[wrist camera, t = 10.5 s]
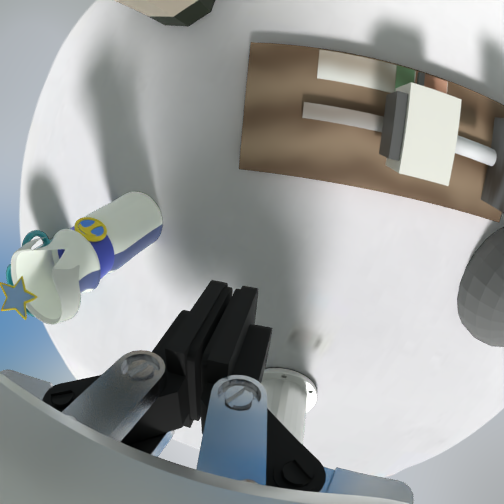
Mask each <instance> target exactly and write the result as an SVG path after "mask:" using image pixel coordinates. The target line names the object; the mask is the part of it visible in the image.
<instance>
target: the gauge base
mask: <svg viewBox="0 0 504 504" xmlns="http://www.w3.org/2000/svg"><path fill="white" fill-rule="evenodd" d="M418 72H422V71H418V70H415V69H412V68H409V67H405V66H402V65H398V64H394V63H391V62H387V61H383V60H379V59H375V58H370V57H366V56H361V55H356V54H351V53H346V52H340V51H334V50H328V49H321V48H314V47H306V46H297V45H286V44H273V43H253V42H251V45H250V55H249V64H248V74H247V84H246V95H245V105H244V116H243V127H242V138H241V149H240V161H239V169H243V170H252V171H260V172H268V173H275V174H282V175H289V176H296V177H303V178H309V179H315V180H321V181H327V182H333V183H339V184H344V185H349V186H355V187H360V188H365V189H370V190H375V191H380V192H384V193H389V194H394V195H398V196H403V197H407V198H411V199H416V200H420V201H424V202H428V203H432V204H436V205H440V206H444V207H447V208H451V209H455V210H459V211H462V212H466V213H469V214H473V215H476V216H480V217H483V218H486V219H490V220H493V221H496V222H499V221H500V218H501V214H502V213H504V105H502V104H500V103H498V102H496V101H494V100H492V99H490V98H488V97H486V96H484V95H481V94H479V93H477V92H475V91H472V90H470V89H468V88H465V87H463V86H460V85H458V84H455V83H453V82H450V81H448V80H445V79H442V78H439V77H436V76H434V75H431V74H428V73H425V72H422V73H425V81H424V86H425V87H428V88H431V89H434V90H437V91H440V92H443V93H445V94H448V95H451V96H453V97H456V98H459V99H461V111H460V120H459V128H458V136H461V137H464V138H467V139H469V140H472V141H475V142H477V143H480V144H482V145H485V146H487V147H490V148H492V149H494V150H495V151H496V154H497V158H496V162H495V164H494V165H493V166H489V165H487V164H484V163H481V162H479V161H476V160H473V159H471V158H468V157H465V156H462V155H459V154H456V153H455V155H454V161H453V166H452V171H451V176H450V181H449V186H446V185H442V184H439V183H435V182H431V181H428V180H424V179H420V178H416V177H412V176H408V175H404V174H400V173H398V172H396V171H394V170H393V169H391V168H389V167H388V166H386V165H385V164H386V159H387V157H384V156H382V155H380V154H379V148H380V142H381V135H382V128H383V120H384V112H385V103H386V95H387V94H390V93H393V92H395V90H396V88H398V87H400V86H403V85H405V84H408V83H411V82H412V83H415V84H417V75H418Z"/></svg>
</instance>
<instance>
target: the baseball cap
mask: <svg viewBox="0 0 504 504" xmlns="http://www.w3.org/2000/svg"><path fill="white" fill-rule="evenodd" d="M457 305H458V314H459V317H460V319H461V322H462V324H463V325H464V326H465V327H466V328H467V330H468V331H469V332H470V333H471V334H472V335H473V336H474V338H476V339H478V340H480V341H482V342H484V343H486V344H488V345H490V346H497V347H504V227H503V228H501V229H499V230H497V231H496V232H495V233H494V234H492V235H491V236H490V237H488V238H487V239H486V240H485V241H484V243H483V244H482V245H481V246H480V247H479V248H478V250H477V251H476V252H475V254H474V255H473V257H472V259H471V260H470V262H469V264H468V265H467V267H466V269H465V272H464V275H463V277H462V280H461V282H460V286H459V292H458V297H457Z"/></svg>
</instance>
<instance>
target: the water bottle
mask: <svg viewBox="0 0 504 504" xmlns="http://www.w3.org/2000/svg"><path fill="white" fill-rule="evenodd" d="M162 225H163V222H162V215H161V212H160V210H159V208H158V206H157V204H156V203H155V202H154V200H153V199H152V198H150V197H149V196H148V195H146V194H144V193H141V192H137V191H133V192H128V193H126V194H124V195H123V196H121V197H119V198H118V199H116V200H114V201H112V202H111V203H109V204H107V205H105V206H103V207H101V208H99V209H98V210H96V211H94V212H92V213H90V214H89V215H87V216H86V217H84V218H80V219H79V220H77V221H76V223H75V226H74V227H72V228H70V229H62V230H60V231H58V232H57V233H56V234H55V235H54V237H53V240H52V242H51V243H50V244H49V245H47V246H45V247H42V248H38V249H34V250H31V247H32V246H33V245H34V244H35V243H36V242H37V241H38V240H39V239H42V238H39V239H35V240H32V241H30V242H28V243H26V244H25V245H23V246H22V247H21V248H19V249H18V250H17V251H16V252H15V253H14V254H13V256H12V259H11V276H12V281H13V284H14V286H11V285H8V284H5V283H1V282H0V286H1V288H2V290H3V292H4V294H5V296H6V299H5V302H4V304H3V306H2V309H1V311H7V310H16V311H17V312H18V313H19V314H20V316H22V318H24V319H25V320H26V318H27V315H26V308H27V309H28V310H29V311H30V312H31V313H32V314H33V315H34V316H35V317H36V318H37V319H39V320H40V321H42V322H44V323H46V324H51V325H53V324H57V323H60V322H64V321H67V320H70V319H71V318H73V317H74V316H75V315H76V314H77V312H78V310H79V307H80V302H81V294H80V293H82V292H91V291H93V290H94V289H95V288H96V287H97V286H98V284H99V281H100V279H101V278H102V277H103V276H104V275H106V274H108V273H111V272H114V271H116V270H117V269H119V268H120V267H121V266H123V265H124V264H125V263H126V262H128V261H129V260H130V259H131V258H133V257H134V256H135V255H136V254H138V253H139V252H140V251H142V250H143V249H145V248H146V247H148V246H149V245H151V244H152V243H154V242H155V241H156V240H157V239H158V237H159V236H160V234H161V231H162ZM44 238H46V237H44Z"/></svg>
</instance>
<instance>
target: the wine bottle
mask: <svg viewBox="0 0 504 504" xmlns="http://www.w3.org/2000/svg"><path fill="white" fill-rule="evenodd" d="M114 1H117V2H119V3H121V4H123V5H125V6H128V7H130V8H132V9H134V10H136V11H138V12H140V13H142V14H144V15H146V16H148V17H150V18H152V19H154V20H156V21H158V22H160V23H162V24H164V25H174V26H190V25H191V24H193V23H194V22H196V21H197V20H199V19H200V18H202V17H204V16H205V15H207V14H208V13H210V12H211V11H212V8H213V5H214V2H215V0H114Z"/></svg>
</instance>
